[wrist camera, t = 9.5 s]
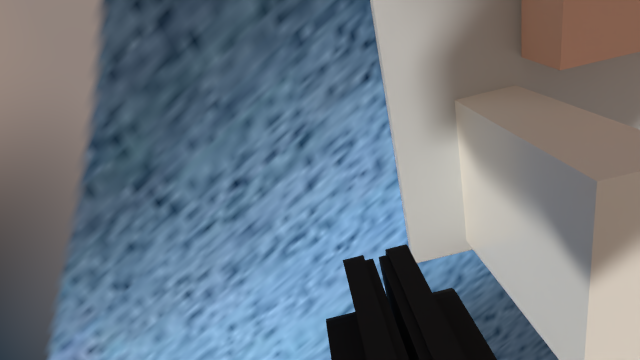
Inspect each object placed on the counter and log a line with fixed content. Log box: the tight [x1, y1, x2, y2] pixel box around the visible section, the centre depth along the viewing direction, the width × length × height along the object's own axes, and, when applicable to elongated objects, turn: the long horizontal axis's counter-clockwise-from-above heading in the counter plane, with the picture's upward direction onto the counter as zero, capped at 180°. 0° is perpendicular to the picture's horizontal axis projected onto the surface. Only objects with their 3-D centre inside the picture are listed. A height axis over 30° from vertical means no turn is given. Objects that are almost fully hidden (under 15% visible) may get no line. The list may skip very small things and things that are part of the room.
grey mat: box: [370, 0, 640, 263], centre depth 14 cm, size 14×14×1 cm
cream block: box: [455, 85, 640, 360], centre depth 12 cm, size 6×2×7 cm, turn 13°
